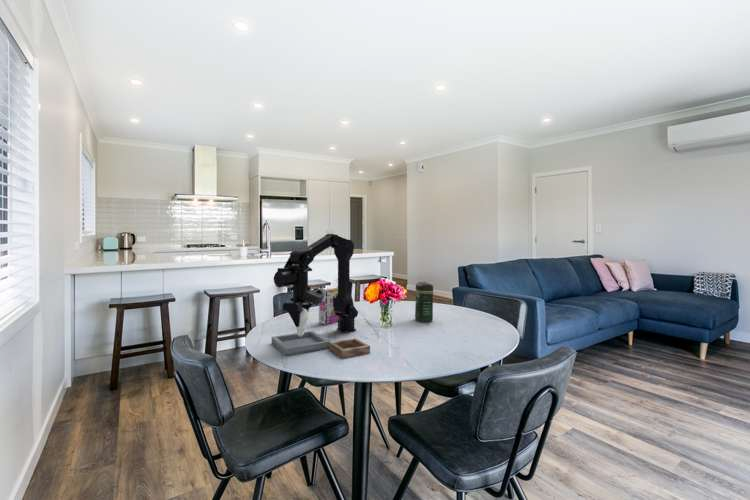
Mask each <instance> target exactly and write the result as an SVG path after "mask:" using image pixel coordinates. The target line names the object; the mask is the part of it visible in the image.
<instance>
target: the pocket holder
mask: <svg viewBox="0 0 750 500" xmlns="http://www.w3.org/2000/svg"><path fill="white" fill-rule="evenodd" d="M328 349H329V350H330V351H331V352H332V353H334V354H336V355H337V356H339V357H340V358H341V359H345V358H349V357H350V358H351V357H355V356H360V355H366V354H370V353H371V346H370V345H369V344H367V343H365V342H363V341H361V340H360V339H357V338H356V337H355V338H348V339H343V340H337V341H330V343H329V348H328Z"/></svg>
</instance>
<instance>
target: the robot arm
mask: <svg viewBox="0 0 750 500" xmlns="http://www.w3.org/2000/svg"><path fill="white" fill-rule="evenodd" d="M328 248H333V253H334V256H335V257H336V259H337V287H338V294H337V296H336V297H335V298H333V307H334V311H335V314H336V316H339V320H338V322H337V327H336V330H337V331H339V332H341V333H348V332H356V331H357V329H356V328H355V318H357V317H358V316H359V315H358V314H359V311H358V310H357V309H356V307H355V306H354V298H353V297H352V295H351V294H350V272H351V271H350V261H351V259H352V256H353V255H354V250H355V244H354V242H353V240H351V239H347V238H345V237H342V236H339V235H338V234H336V233H326V234H325V235H324V236H322V237H320V238H319V239H318V240H316V241H315V242H313V243H311V244H309V245H308V246H307V247H300V248H298V249H294V250H292V251H291V252H290V253H289V257H288V259H287V260H286V263H285V264H284V266H283V267H277V268H276V269H277V270H276V272H275V273H274V275H273V283H274V285H275V286H276V287H277V288H284V287H290V286H291V287H290V290H291V291H292V297H290V300H287V301H286V302H284V303H283V304H281V305H282V306H281V308H282V311H283V312H284V311H285V312H287V313H288V315H289V316H290V318H291V320H292V322H293V324H294V325H295V328H296V327H299V323H300V314H301V312H302V311H303V310H304V309H306V310H307V311H308V312H309V310H310V308H312V306H314V305H315V306H318V305H319V304H320V303H321V301H322V299H323V298H324V297H323V291H322V290H320V289H321V288H319V289H317V290H316V291H315V290H312V289H311V285H309V272H312V271H313V269H312V267H310V266H309V265H310V264H311V263H313V261H314V259H315V257H316V256H318V255H319V254H321V253H322V252H324V251H326V250H327V249H328ZM302 308H304V309H302Z"/></svg>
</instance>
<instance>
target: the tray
mask: <svg viewBox="0 0 750 500" xmlns="http://www.w3.org/2000/svg"><path fill="white" fill-rule="evenodd" d="M330 342H331V341H330V340H328V338H325V337H323V336H322V335H320V333H317V332H316V331H314V330H308V331H304V335H302V336H301V337H300V336H298V335H297V332H295V333H287V334H282V335H281V334H279V335H274V336H271V344H272V345H273V346H274V347H275V348H277V350H278V351H280V352H281V353H282V354H283V355H285V356H286V357H289V356H294V355H300V354H305V353H310V352H316V351H322V350H327V349H329V343H330Z"/></svg>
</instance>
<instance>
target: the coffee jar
mask: <svg viewBox="0 0 750 500" xmlns="http://www.w3.org/2000/svg"><path fill="white" fill-rule="evenodd" d="M433 304H434V285H432V284H431V283H428V282H426V281H418V282H417V283H416V284H415V307H414V308H415V310H414V314H415V315H414V317H415V318H414V319H415V320H416V321H418V322H423V323H430V322H432V321H433V320H434V319H433V317H434V315H433V314H434V312H433V310H434V305H433Z"/></svg>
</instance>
